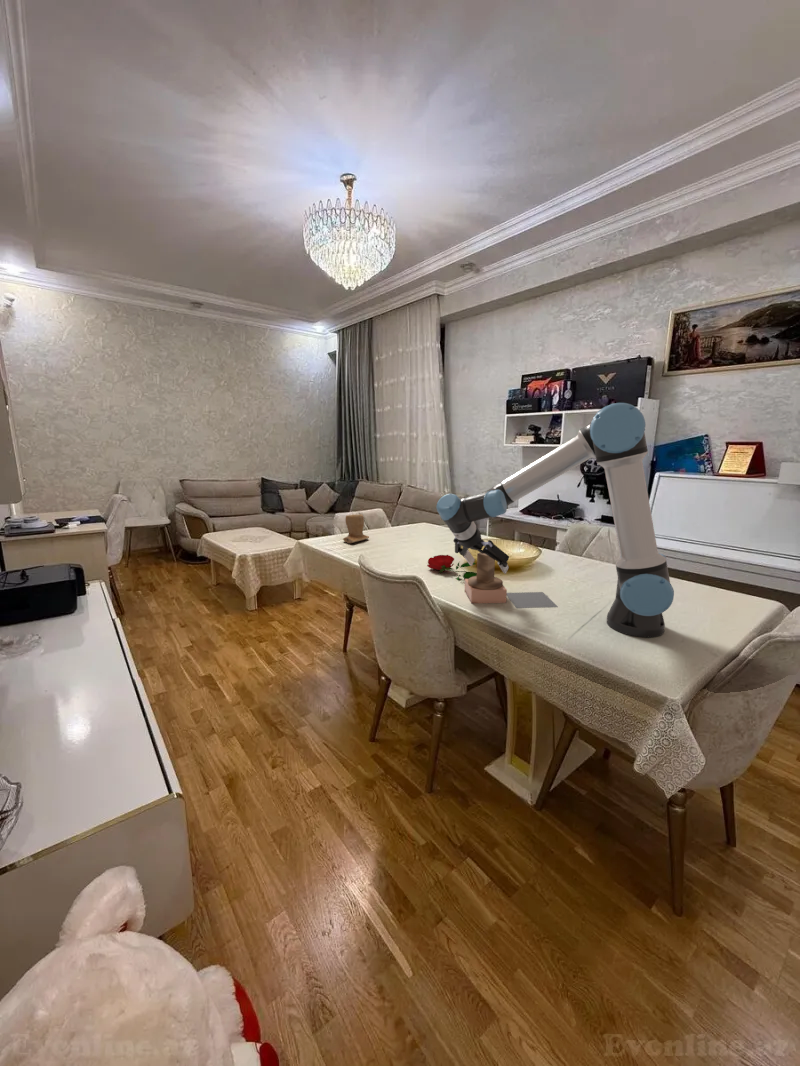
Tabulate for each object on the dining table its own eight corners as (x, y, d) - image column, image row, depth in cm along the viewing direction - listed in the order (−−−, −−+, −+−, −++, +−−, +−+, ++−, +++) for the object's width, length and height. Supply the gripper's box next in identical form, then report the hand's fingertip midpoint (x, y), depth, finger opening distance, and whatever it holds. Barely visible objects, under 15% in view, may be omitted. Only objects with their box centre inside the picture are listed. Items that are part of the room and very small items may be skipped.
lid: (508, 583, 151) (510, 552, 149) (491, 592, 143) (492, 560, 140) (479, 576, 159) (480, 547, 157) (461, 584, 151) (461, 553, 148)
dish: (506, 603, 146) (506, 589, 145) (471, 604, 146) (471, 590, 145) (496, 591, 158) (497, 578, 157) (464, 591, 158) (464, 578, 157)
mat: (558, 608, 142) (558, 607, 142) (516, 609, 142) (516, 608, 142) (542, 593, 156) (542, 592, 156) (504, 593, 155) (504, 592, 155)
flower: (490, 555, 164) (430, 548, 185) (478, 571, 159) (418, 562, 180) (497, 573, 168) (438, 564, 189) (485, 589, 163) (426, 578, 184)
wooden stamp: (356, 536, 245) (355, 511, 242) (372, 539, 238) (371, 513, 235) (337, 542, 234) (336, 515, 230) (353, 545, 226) (352, 517, 223)
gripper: (429, 535, 144) (455, 568, 158) (495, 547, 128) (517, 583, 142) (439, 517, 147) (463, 551, 161) (505, 527, 130) (525, 564, 144)
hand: (489, 566), depth 151 cm, fingers open, 13 cm apart
